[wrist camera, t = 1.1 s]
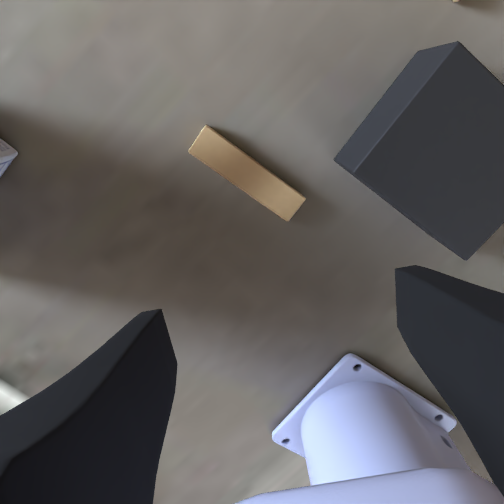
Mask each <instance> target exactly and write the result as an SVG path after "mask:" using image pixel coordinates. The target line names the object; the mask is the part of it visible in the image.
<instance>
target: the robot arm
mask: <svg viewBox="0 0 504 504" xmlns="http://www.w3.org/2000/svg"><path fill="white" fill-rule="evenodd" d="M395 281H396V306H397V327H398V329H399V331H400V333H401V335H402V337H403V339H404V341H405V343H406V345H407V347H408V348H409V350H410V352H411V354H412V355H413V357H414V358H415V360H416V361H417V362H418V364H419V365H420V367H421V368H422V370H423V371H424V372H425V374H426V375H427V377H428V378H429V379H430V381H431V382H432V384H433V385H434V386H435V388H436V389H437V390H438V392H439V393H440V395H441V396H442V397H443V399H444V400H445V402H446V403H447V404H448V406H449V407H450V409H451V410H452V411H453V413H454V414H455V416H456V417H457V419H458V420H459V422H460V423H461V425H462V427H463V428H464V430H465V432H466V434H467V435H468V437H469V439H470V441H471V442H472V444H473V446H474V448H475V449H476V451H477V453H478V455H479V456H480V458H481V460H482V462H483V464H484V465H485V467H486V469H487V471H488V473H489V475H490V477H491V478H492V480H493V482H494V484H495V485H494V484H493V483H491V482H489V481H487V480H486V479H484V478H482V477H481V476H479V475H477V474H475V473H474V472H472V471H471V469H470V468H469V466H468V464H467V463H466V461H465V460H464V458H463V457H462V455H461V453H460V452H459V450H458V449H457V447H456V446H455V444H454V442H453V441H452V439H451V438H450V436H449V435H448V432H449V431H451V430H452V429H453V428H454V427H455V426H456V423H457V422H456V420H455V418H454V417H453V416H452V415H451V414H449V413H448V412H446V411H444V410H443V409H441V408H440V407H438V406H436V405H435V404H433V403H432V402H430V401H428V400H427V399H425V398H424V397H422V396H420V395H419V394H417V393H416V392H414V391H413V390H411V389H409V388H408V387H406V386H405V385H403V384H401V383H400V382H398V381H397V380H395V379H393V378H392V377H390V376H389V375H387V374H386V373H384V372H382V371H381V370H379V369H378V368H376V367H374V366H373V365H371V364H370V363H368V362H366V361H365V360H363V359H362V358H360V357H359V356H357V355H355V354H353V353H349V354H346V355H345V356H344V357H343V358H342V359H341V360H340V361H339V362H338V363H337V364H336V365H335V366H334V367H333V368H332V369H331V370H330V371H329V372H328V374H327V375H326V376H325V377H324V378H323V379H322V380H321V381H320V382H319V383H318V384H317V385H316V386H315V387H314V388H313V389H312V390H311V392H310V393H309V394H308V395H307V396H306V397H305V398H304V399H303V400H302V401H301V402H300V403H299V404H298V405H297V406H296V407H295V408H294V410H293V411H292V412H291V413H290V414H289V415H288V416H287V417H286V418H285V419H284V420H283V421H282V422H281V423H280V424H279V425H278V426H277V428H276V429H275V430H274V431H273V432H272V439H273V441H274V442H275V443H277V444H279V445H281V446H283V447H285V448H287V449H289V450H291V451H293V452H295V453H297V454H299V455H301V456H302V457H304V458H306V463H307V468H308V473H309V478H310V483H311V486H305V487H299V488H293V489H286V490H280V491H274V492H268V493H261V494H258V495H256V496H253V497H250V498H247V499H245V500H242V501H239V502H236V503H234V504H504V293H500V292H497V291H493V290H490V289H487V288H484V287H481V286H478V285H475V284H472V283H469V282H466V281H463V280H460V279H457V278H454V277H451V276H449V275H446V274H443V273H440V272H437V271H434V270H431V269H428V268H425V267H421V266H417V265H414V266H408V267H402V268H396V269H395ZM356 364H360V365H359V366H358V367H354V366H355V365H356ZM176 375H177V360H176V357H175V354H174V350H173V347H172V343H171V340H170V337H169V333H168V330H167V326H166V323H165V320H164V316H163V313H162V309H157V310H151V311H146V312H141V313H140V314H139V315H137V316H136V317H135V318H133V319H132V320H131V321H130V322H129V323H128V324H126V325H125V326H124V327H123V328H122V329H121V330H120V331H119V332H117V333H116V334H115V335H114V336H113V337H112V338H111V339H109V340H108V341H107V342H106V343H105V344H104V345H103V346H101V347H100V348H99V349H98V350H97V351H95V352H94V353H93V354H92V355H90V356H89V357H88V358H87V359H85V360H84V361H83V362H82V363H81V364H79V365H78V366H77V367H76V368H74V369H73V370H72V371H70V372H69V373H68V374H66V375H65V376H63V377H62V378H61V379H59V380H58V381H56V382H55V383H53V384H52V385H50V386H49V387H47V388H46V389H44V390H43V391H41V392H40V393H38V394H36V395H35V396H33V397H31V398H30V399H28V400H26V401H25V402H23V403H21V404H19V405H18V406H16V407H14V408H13V409H11V410H9V411H8V412H6V413H4V414H2V415H0V504H153V497H154V489H155V481H156V474H157V469H158V464H159V459H160V454H161V450H162V446H163V442H164V437H165V433H166V429H167V425H168V421H169V416H170V412H171V408H172V403H173V399H174V394H175V386H176ZM437 415H438V416H437ZM286 438H288V439H286ZM285 439H286V440H285Z"/></svg>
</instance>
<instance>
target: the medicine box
mask: <svg viewBox="0 0 504 504" xmlns="http://www.w3.org/2000/svg"><path fill="white" fill-rule="evenodd" d="M17 155H18V152H17V151H16V150H15V149H14V148H13V147H11V146H10V145H9V144H7V143H6V142H5V141H3V140H2V139H1V138H0V177H1V176H2V174H3V173H4V171H5V170H6V169H7V167H8V166H9V164H10V163H11V162H12V160H13V159H14V158H15V157H16V156H17Z"/></svg>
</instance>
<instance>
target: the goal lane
mask: <svg viewBox="0 0 504 504" xmlns="http://www.w3.org/2000/svg"><path fill="white" fill-rule="evenodd" d="M452 1H453V2H454V3H455V2H458V1H460V0H452ZM188 152H189V153H190V154H191V155H193V156H194V157H196V158H197V159H198V160H200V161H201V162H203V163H204V164H206V165H207V166H208V167H210V168H211V169H213V170H214V171H216V172H217V173H218V174H220V175H221V176H223V177H224V178H226V179H227V180H228V181H230V182H231V183H233V184H234V185H235V186H237V187H238V188H240V189H241V190H243V191H244V192H245V193H247V194H248V195H250V196H251V197H253V198H254V199H255V200H257V201H258V202H260V203H261V204H263V205H264V206H265V207H267V208H268V209H270V210H271V211H273V212H274V213H275V214H277V215H278V216H280V217H281V218H283V219H284V220H285V221H287V222H288V221H289V220H290V219H291V218H292V216H293V215H294V214H295V213H296V211H297V210H298V209H299V207H300V206H301V205H302V204H303V202H304V201H305V200H306V198H305V197H304V196H303V195H302V194H301V193H299V192H298V191H297V190H295V189H294V188H293V187H291V186H290V185H288V184H287V183H286V182H284V181H283V180H282V179H280V178H279V177H278V176H276V175H275V174H273V173H272V172H271V171H269V170H268V169H267V168H265V167H264V166H263V165H261V164H260V163H258V162H257V161H256V160H254V159H253V158H252V157H250V156H249V155H247V154H246V153H245V152H243V151H242V150H241V149H239V148H238V147H237V146H235V145H234V144H232V143H231V142H230V141H228V140H227V139H226V138H224V137H223V136H222V135H220V134H219V133H217V132H216V131H215V130H213V129H212V128H211V127H209V126H208V125H205V126H204V128H203V129H202V131H201V132H200V134H199V135H198V137H197V138H196V140H195V141H194V143H193V145H192V146H191V148H190V149H189V151H188Z"/></svg>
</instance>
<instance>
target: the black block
mask: <svg viewBox="0 0 504 504" xmlns="http://www.w3.org/2000/svg"><path fill="white" fill-rule="evenodd" d="M334 161H335V162H336V163H338V164H339V165H340V166H342V167H343V168H344V169H345V170H347V171H348V172H349V173H351V174H352V175H353V176H354V177H356V178H357V179H358V180H359V181H361V182H362V183H363V184H365V185H366V186H367V187H368V188H370V189H371V190H372V191H374V192H375V193H376V194H377V195H379V196H380V197H381V198H383V199H384V200H385V201H386V202H388V203H389V204H390V205H392V206H393V207H394V208H395V209H397V210H398V211H399V212H400V213H402V214H403V215H404V216H406V217H407V218H408V219H409V220H411V221H412V222H413V223H415V224H416V225H417V226H418V227H420V228H421V229H422V230H424V231H425V232H426V233H427V234H429V235H430V236H431V237H433V238H434V239H436V240H437V241H438V242H440V243H441V244H443V245H444V246H445V247H447V248H448V249H450V250H451V251H452V252H454V253H455V254H457V255H458V256H460V257H461V258H462V259H464V260H468V259H469V258H470V257H471V256H472V255H473V254H474V253H475V252H476V251H477V250H478V249H479V248H480V247H481V246H482V244H483V243H484V242H485V241H486V240H487V239H488V238H489V237H490V236H491V235H492V234H493V233H494V232H495V231H496V230H497V229H498V228H499V227H500V226H501V225H502V224H503V223H504V85H503V84H502V83H501V82H500V81H499V80H498V79H497V78H496V77H495V76H494V75H493V74H492V73H491V72H490V71H489V70H488V69H487V68H486V67H485V66H484V65H482V64H481V63H480V62H479V61H478V60H477V59H476V58H475V57H474V56H473V55H472V54H471V53H470V52H469V51H468V50H467V49H466V48H465V47H464V46H463V45H462V44H461V43H460V42H458V41H457V42H453V43H449V44H445V45H441V46H437V47H433V48H429V49H425V50H421V51H418V52H417V53H416V54H415V56H414V57H413V58H412V59H411V61H410V62H409V63H408V64H407V66H406V67H405V68H404V70H403V71H402V72H401V73H400V75H399V76H398V77H397V79H396V80H395V81H394V82H393V84H392V85H391V86H390V88H389V89H388V90H387V91H386V93H385V94H384V95H383V97H382V98H381V99H380V100H379V102H378V103H377V104H376V106H375V107H374V108H373V109H372V111H371V112H370V113H369V115H368V116H367V117H366V118H365V120H364V121H363V122H362V124H361V125H360V126H359V127H358V129H357V130H356V131H355V133H354V134H353V135H352V136H351V138H350V139H349V140H348V142H347V143H346V144H345V145H344V147H343V148H342V149H341V151H340V152H339V153H338V154H337V156H336V157H335V158H334Z"/></svg>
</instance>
